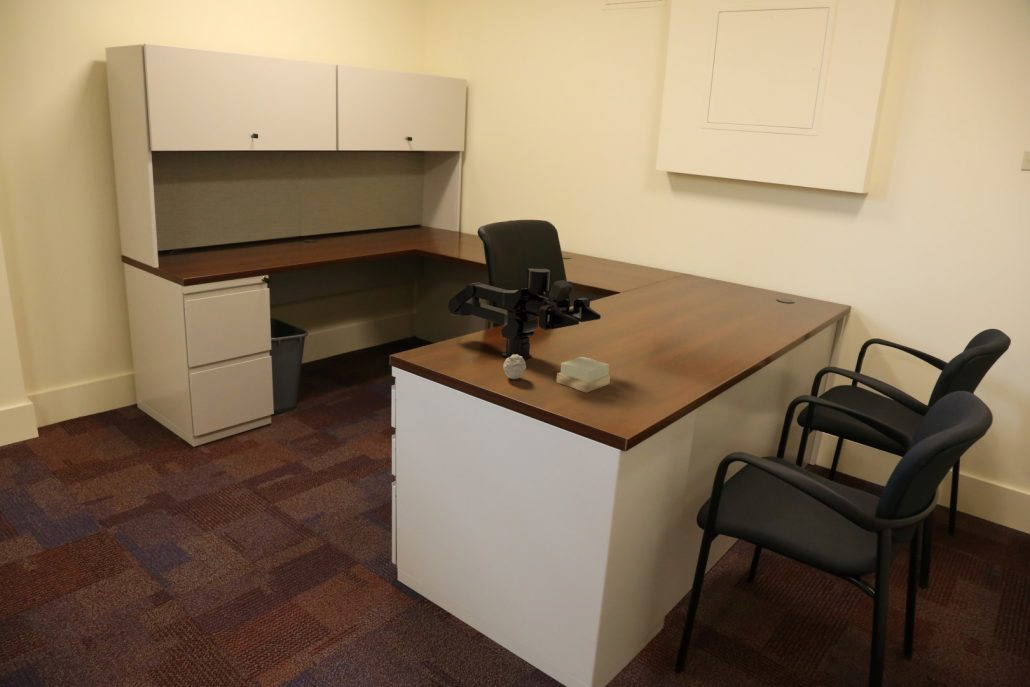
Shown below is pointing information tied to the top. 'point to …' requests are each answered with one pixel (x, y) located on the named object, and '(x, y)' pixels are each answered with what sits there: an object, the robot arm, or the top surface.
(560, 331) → the top surface
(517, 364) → the frog figurine
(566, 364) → the upper block
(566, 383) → the lower block
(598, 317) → the robot arm
